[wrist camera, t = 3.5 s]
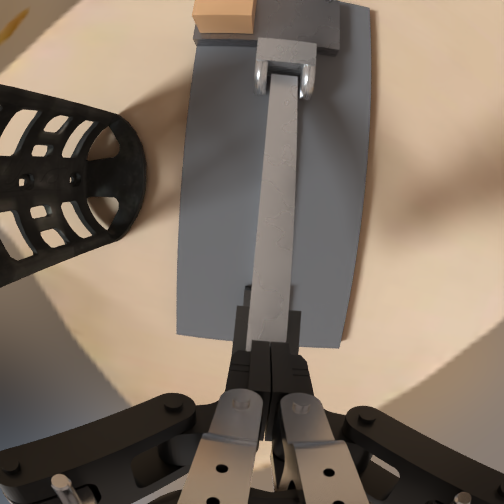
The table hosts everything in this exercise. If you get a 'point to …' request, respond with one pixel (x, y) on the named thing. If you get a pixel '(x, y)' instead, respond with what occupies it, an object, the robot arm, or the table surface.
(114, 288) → the table surface
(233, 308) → the tray
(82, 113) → the holder
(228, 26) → the tab
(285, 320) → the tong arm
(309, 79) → the base
